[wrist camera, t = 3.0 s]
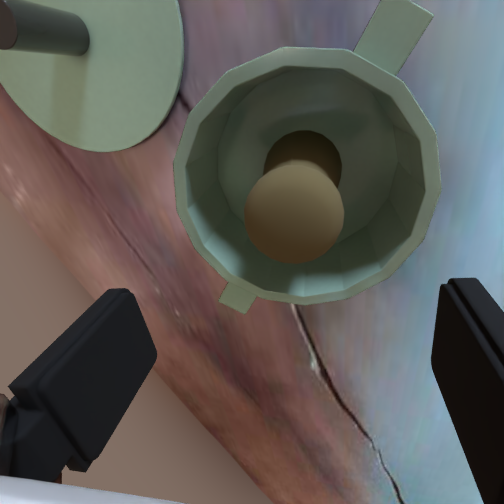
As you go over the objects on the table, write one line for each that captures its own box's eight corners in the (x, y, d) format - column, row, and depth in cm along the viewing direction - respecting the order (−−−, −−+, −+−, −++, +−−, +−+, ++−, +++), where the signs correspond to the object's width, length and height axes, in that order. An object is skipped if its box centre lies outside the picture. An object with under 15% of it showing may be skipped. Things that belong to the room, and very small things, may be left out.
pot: (177, 228, 29) (138, 268, 23) (277, -40, 19) (255, -97, 13) (317, 300, 30) (316, 357, 24) (488, 83, 20) (565, 85, 14)
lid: (-17, 93, 27) (-121, 98, 20) (-24, -183, 18) (-201, -318, 12) (154, 182, 28) (105, 213, 21) (221, -43, 19) (174, -101, 13)
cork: (331, 213, 26) (337, 292, 16) (259, 200, 26) (224, 269, 17) (351, 136, 22) (373, 178, 13) (269, 124, 23) (234, 155, 14)
